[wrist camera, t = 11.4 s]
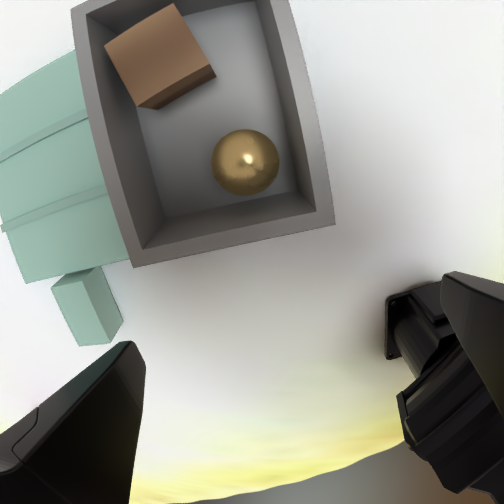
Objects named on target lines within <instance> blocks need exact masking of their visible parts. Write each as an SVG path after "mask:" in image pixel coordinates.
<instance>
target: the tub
mask: <svg viewBox="0 0 504 504" xmlns="http://www.w3.org/2000/svg"><path fill="white" fill-rule="evenodd" d="M173 3H174V5H175V7H176V8H177V10H178V11H179V13H180V15H181V16H182V18H183V19H184V21H185V23H186V24H187V26H188V28H189V29H190V31H191V33H192V34H193V36H194V38H195V39H196V41H197V43H198V44H199V46H200V48H201V49H202V51H203V53H204V54H205V56H206V58H207V59H208V61H209V63H210V65H211V67H212V68H213V70H214V72H215V74H216V76H217V77H216V78H214V79H212V80H210V81H208V82H206V83H204V84H202V85H200V86H199V87H197V88H195V89H193V90H191V91H189V92H188V93H186V94H184V95H182V96H181V97H179V98H177V99H176V100H174V101H172V102H170V103H169V104H167V105H165V106H164V107H162V108H160V109H159V110H154V109H149V108H143V107H137V106H136V105H135V103H134V101H133V99H132V97H131V95H130V94H129V92H128V90H127V88H126V86H125V84H124V83H123V81H122V79H121V77H120V75H119V73H118V71H117V70H116V68H115V66H114V64H113V62H112V60H111V58H110V56H109V55H108V53H107V51H106V49H105V47H104V45H106V44H107V43H109V42H110V41H112V40H113V39H114V38H116V37H117V36H119V35H120V34H122V33H123V32H125V31H127V30H128V29H130V28H131V27H133V26H134V25H136V24H138V23H139V22H141V21H143V20H144V19H146V18H148V17H149V16H151V15H153V14H154V13H156V12H158V11H160V10H162V9H163V8H165V7H167V6H169V5H171V4H173ZM70 10H71V19H72V28H73V36H74V43H75V50H76V57H77V63H78V69H79V75H80V80H81V86H82V91H83V96H84V101H85V106H86V110H87V115H88V119H89V124H90V128H91V132H92V136H93V141H94V145H95V148H96V152H97V156H98V160H99V164H100V167H101V171H102V174H103V178H104V181H105V185H106V188H107V192H108V195H109V198H110V201H111V205H112V208H113V211H114V214H115V217H116V220H117V223H118V226H119V229H120V232H121V235H122V238H123V241H124V244H125V247H126V249H127V252H128V255H129V258H130V260H131V263H132V266H133V268H136V267H140V266H145V265H150V264H154V263H159V262H163V261H168V260H172V259H177V258H181V257H186V256H190V255H195V254H200V253H204V252H209V251H213V250H218V249H223V248H227V247H232V246H237V245H241V244H246V243H251V242H255V241H260V240H265V239H269V238H274V237H279V236H284V235H288V234H293V233H298V232H303V231H307V230H312V229H317V228H322V227H326V226H331V225H336V223H335V216H334V209H333V202H332V195H331V189H330V182H329V176H328V170H327V164H326V159H325V153H324V148H323V142H322V137H321V132H320V127H319V122H318V117H317V112H316V107H315V102H314V98H313V93H312V89H311V84H310V80H309V76H308V72H307V67H306V63H305V59H304V55H303V51H302V47H301V44H300V40H299V36H298V32H297V29H296V25H295V22H294V18H293V15H292V11H291V8H290V4H289V1H288V0H88V1H86V2H84V3H82V4H80V5H78V6H76V7H74V8H72V9H70ZM240 129H252V130H256V131H258V132H261V133H263V134H264V135H266V136H267V137H268V138H269V139H270V140H271V141H272V142H273V143H274V145H275V146H276V148H277V151H278V154H279V160H280V165H279V170H278V174H277V176H276V178H275V180H274V181H273V183H272V184H271V185H270V186H269V187H268V188H266V189H265V190H264V191H262V192H260V193H257V194H254V195H249V196H242V195H236V194H233V193H231V192H229V191H227V190H226V189H224V188H223V187H222V186H221V185H220V184H219V183H218V182H217V180H216V179H215V177H214V174H213V171H212V167H211V158H212V153H213V151H214V148H215V146H216V145H217V143H218V142H219V141H220V140H221V139H222V138H223V137H224V136H225V135H227V134H228V133H230V132H233V131H236V130H240Z"/></svg>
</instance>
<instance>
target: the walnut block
mask: <svg viewBox="0 0 504 504" xmlns="http://www.w3.org/2000/svg"><path fill="white" fill-rule="evenodd" d="M104 47H105V49H106V51H107V53H108V55H109V56H110V58H111V60H112V62H113V64H114V66H115V68H116V70H117V71H118V73H119V75H120V77H121V79H122V81H123V83H124V84H125V86H126V88H127V90H128V92H129V94H130V95H131V97H132V99H133V101H134V103H135V105H136V106H137V107H143V108H149V109H154V110H159V109H160V108H162V107H164V106H165V105H167V104H169V103H170V102H172V101H174V100H176V99H177V98H179V97H181V96H182V95H184V94H186V93H188V92H189V91H191V90H193V89H195V88H197V87H199V86H200V85H202V84H204V83H206V82H208V81H210V80H212V79H214V78H216V77H217V76H216V74H215V72H214V70H213V68H212V67H211V65H210V63H209V61H208V59H207V58H206V56H205V54H204V53H203V51H202V49H201V48H200V46H199V44H198V43H197V41H196V39H195V38H194V36H193V34H192V33H191V31H190V29H189V28H188V26H187V24H186V23H185V21H184V19H183V18H182V16H181V15H180V13H179V11H178V10H177V8H176V7H175V5H174V3H173V4H171V5H169V6H167V7H165V8H163V9H162V10H160V11H158V12H156V13H154V14H153V15H151V16H149V17H148V18H146V19H144V20H143V21H141V22H139V23H138V24H136V25H134V26H133V27H131V28H130V29H128V30H127V31H125V32H123V33H122V34H120V35H119V36H117V37H116V38H114V39H113V40H112V41H110V42H109V43H107V44H106V45H104Z"/></svg>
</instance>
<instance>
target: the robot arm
mask: <svg viewBox="0 0 504 504" xmlns="http://www.w3.org/2000/svg"><path fill="white" fill-rule="evenodd" d="M393 301H394V303H393V304H391V303H392V302H393ZM390 354H391V355H390ZM402 356H403V358H404V359H405V361H406V363H407V364H408V366H409V368H410V370H411V371H412V373H413V375H414V376H415V378H416V380H415V381H414V382H413V383H412V384H410V385H409V386H408V387H407V388H406V389H405V390H404V391H401V392H400V393H399V394H398V395H397V396H396V398H397V402H398V408H399V413H400V418H401V423H402V429H403V434H404V439H405V441H406V442H407V443H408V447H409V449H410V450H411V451H414V452H415V453H416V454H417V455H418V456H419V457H420V458H422V459H423V460H425V461H428V462H429V463H430V465H431V466H432V468H433V469H434V471H435V472H436V474H437V476H438V478H439V479H440V481H441V483H442V485H443V486H444V488H446V489H448V490H450V491H452V492H454V493H456V494H459V493H460V492H462V491H463V490H465V489H466V488H468V489H472V490H475V491H479V492H483V493H487V494H489V495H490V496H491V498H492V499H493V500H494V502H495V504H504V284H503V283H499V282H495V281H491V280H488V279H484V278H480V277H476V276H472V275H469V274H465V273H461V272H457V271H453V272H450V273H446V274H444V275H443V277H442V282H438V283H437V282H436V283H433V284H430V285H426V286H423V287H420V288H416V289H413V290H411V291H408V292H404V293H400V294H397V295H393V296H390V297H389V298H388V299H387V300H386V331H385V357H386V359H387V360H392V359H395V358H399V357H402ZM145 375H146V365H145V362H144V360H143V358H142V356H141V354H140V352H139V350H138V348H137V346H136V344H135V343H134V342H133V341H122V342H119V343H118V344H116V345H115V346H114V347H113V348H111V349H110V350H109V351H107V352H106V353H105V354H104V355H102V356H101V357H100V358H98V359H97V360H96V361H95V362H93V363H92V364H91V365H90V366H88V367H87V368H86V369H84V370H83V371H82V372H81V373H79V374H78V375H77V376H76V377H74V378H73V379H72V380H70V381H69V382H68V383H67V384H65V385H64V386H63V387H62V388H60V389H59V390H58V391H57V392H55V393H54V394H53V395H51V396H50V397H49V398H48V399H46V400H45V401H44V402H43V403H41V404H40V405H39V407H36V408H35V409H34V410H32V411H31V412H30V413H29V414H27V415H26V416H25V417H23V418H22V419H21V420H20V421H18V422H17V423H16V424H14V425H13V426H11V427H10V428H8V429H7V430H6V431H4V432H3V433H1V434H0V504H129V497H130V490H131V482H132V475H133V468H134V461H135V455H136V448H137V442H138V436H139V430H140V425H141V419H142V412H143V401H144V387H145Z"/></svg>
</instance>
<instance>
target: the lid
mask: <svg viewBox="0 0 504 504" xmlns="http://www.w3.org/2000/svg"><path fill="white" fill-rule="evenodd" d="M0 215H1V218H2V221H3V224H2V225H0V226H1V229H2V232H5V231H6V234H7V237H8V240H9V242H10V245H11V248H12V251H13V253H14V256H15V259H16V261H17V264H18V266H19V269H20V271H21V274H22V276H23V279H24V281H25V283H26V284H28V283H32V282H36V281H40V280H44V279H48V278H52V277H56V276H60V275H64V274H65V275H64V276H63V277H62V278H61V279H60V280H59V281H58V282H57V283H55V284H54V285H53V286H52V287H51V290H52V292H53V295H54V297H55V299H56V301H57V303H58V306H59V308H60V310H61V312H62V314H63V316H64V318H65V320H66V322H67V324H68V326H69V328H70V330H71V332H72V334H73V336H74V338H75V340H76V342H77V344H78V345H79V346H89V345H98V344H107V343H111V341H112V340H113V338H114V336H115V334H116V333H117V331H118V329H119V328H120V326H121V324H122V322H123V319H122V317H121V315H120V313H119V310H118V308H117V306H116V303H115V301H114V298H113V296H112V294H111V291H110V289H109V286H108V284H107V281H106V279H105V276H104V274H103V271H102V268H101V265H105V264H110V263H114V262H118V261H122V260H127V259H130V258H129V255H128V252H127V249H126V247H125V244H124V241H123V238H122V235H121V232H120V229H119V226H118V223H117V220H116V217H115V214H114V211H113V208H112V205H111V201H110V198H109V195H108V192H107V188H106V185H105V181H104V178H103V174H102V171H101V167H100V164H99V160H98V156H97V152H96V148H95V145H94V141H93V136H92V132H91V128H90V124H89V119H88V115H87V110H86V106H85V101H84V96H83V91H82V86H81V80H80V75H79V69H78V63H77V57H76V50H74V51H72V52H70V53H68V54H66V55H64V56H62V57H60V58H58V59H56V60H55V61H53V62H51V63H49V64H47V65H46V66H44V67H42V68H41V69H39V70H37V71H35V72H34V73H32V74H31V75H29V76H27V77H26V78H24V79H23V80H21V81H19V82H18V83H16V84H15V85H13V86H12V87H10V88H9V89H7V90H6V91H5V92H3V93H2V94H0Z"/></svg>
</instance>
